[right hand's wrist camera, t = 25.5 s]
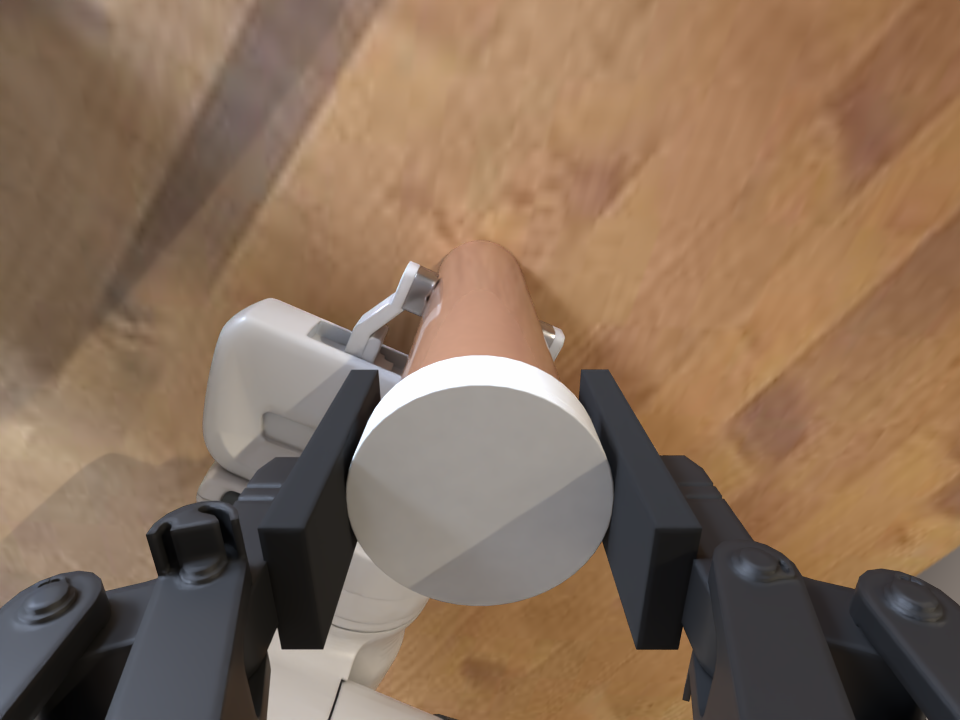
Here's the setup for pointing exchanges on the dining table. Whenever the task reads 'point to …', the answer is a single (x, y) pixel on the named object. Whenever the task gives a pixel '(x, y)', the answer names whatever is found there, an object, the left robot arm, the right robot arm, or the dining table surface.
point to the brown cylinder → (480, 312)
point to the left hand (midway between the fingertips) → (487, 298)
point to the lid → (479, 482)
